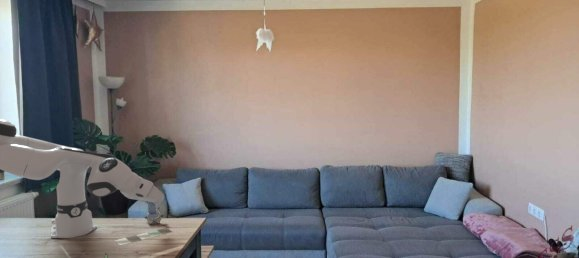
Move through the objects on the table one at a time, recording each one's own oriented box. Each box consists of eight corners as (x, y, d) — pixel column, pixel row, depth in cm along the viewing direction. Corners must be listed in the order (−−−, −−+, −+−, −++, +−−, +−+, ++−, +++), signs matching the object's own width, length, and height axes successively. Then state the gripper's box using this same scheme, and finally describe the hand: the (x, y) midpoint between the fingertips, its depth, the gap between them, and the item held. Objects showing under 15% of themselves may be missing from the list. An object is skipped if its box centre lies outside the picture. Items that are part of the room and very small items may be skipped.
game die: (156, 233, 194) (156, 221, 187) (140, 226, 195) (139, 214, 188) (167, 219, 200) (167, 206, 194) (152, 212, 202) (151, 199, 195)
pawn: (145, 216, 178) (143, 190, 177) (155, 213, 181) (154, 188, 180) (149, 218, 175) (147, 192, 174) (159, 216, 178) (157, 190, 176)
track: (114, 243, 173) (114, 240, 173) (166, 230, 188) (166, 227, 187) (120, 248, 168) (120, 245, 168) (172, 234, 182) (172, 231, 182)
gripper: (111, 190, 172) (132, 206, 181) (146, 195, 162) (166, 212, 171) (119, 177, 175) (139, 194, 185) (154, 181, 165) (173, 199, 175)
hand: (153, 203), depth 178 cm, fingers closed on pawn, 3 cm apart
